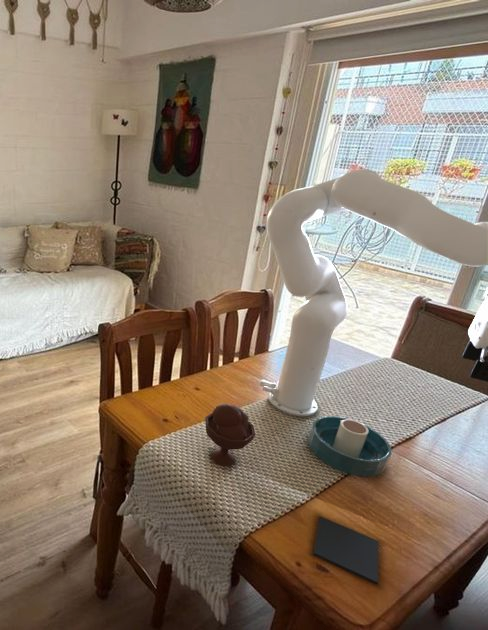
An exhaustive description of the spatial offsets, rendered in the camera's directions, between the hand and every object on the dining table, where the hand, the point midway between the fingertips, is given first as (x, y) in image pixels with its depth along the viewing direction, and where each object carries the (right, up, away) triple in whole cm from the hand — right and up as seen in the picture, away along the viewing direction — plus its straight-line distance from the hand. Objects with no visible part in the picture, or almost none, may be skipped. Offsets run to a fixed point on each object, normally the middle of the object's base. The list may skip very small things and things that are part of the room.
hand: (475, 368), depth 93 cm
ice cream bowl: (-50, -22, +10) cm, 56 cm away
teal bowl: (-20, -22, +13) cm, 32 cm away
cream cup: (-20, -22, +12) cm, 32 cm away
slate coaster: (-35, -32, -11) cm, 49 cm away
